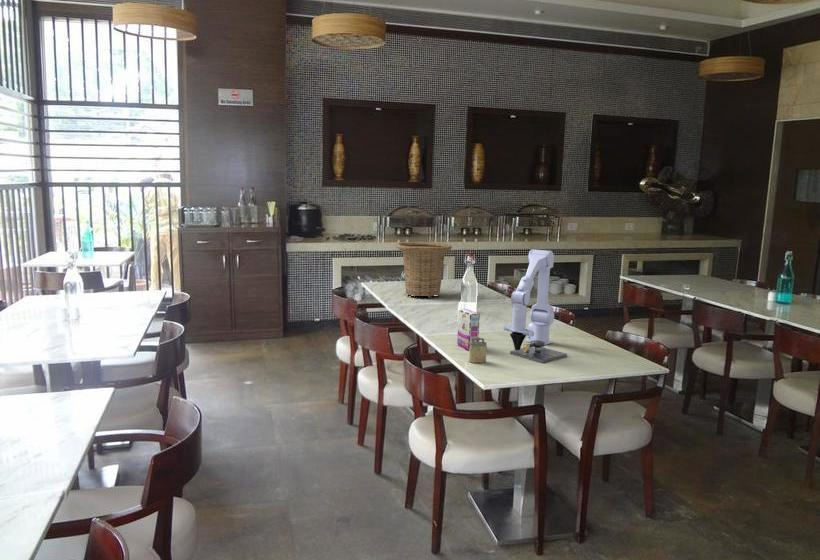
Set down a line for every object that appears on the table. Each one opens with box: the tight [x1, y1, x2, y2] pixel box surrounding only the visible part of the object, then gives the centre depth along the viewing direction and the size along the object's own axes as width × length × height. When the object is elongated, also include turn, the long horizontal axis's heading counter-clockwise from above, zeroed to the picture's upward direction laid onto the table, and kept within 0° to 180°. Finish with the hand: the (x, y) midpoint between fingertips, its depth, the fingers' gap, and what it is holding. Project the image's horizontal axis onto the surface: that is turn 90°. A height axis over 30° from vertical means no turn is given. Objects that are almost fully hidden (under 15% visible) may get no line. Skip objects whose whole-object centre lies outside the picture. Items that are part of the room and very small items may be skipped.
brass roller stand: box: [523, 340, 546, 353], centre depth 264 cm, size 12×6×4 cm, turn 131°
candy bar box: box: [456, 308, 481, 352], centre depth 272 cm, size 11×5×16 cm, turn 23°
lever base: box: [509, 346, 568, 364], centre depth 264 cm, size 17×17×4 cm
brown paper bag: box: [468, 337, 488, 364], centre depth 251 cm, size 7×4×10 cm, turn 98°
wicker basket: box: [396, 241, 453, 297], centre depth 394 cm, size 35×35×33 cm
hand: (517, 349), depth 264 cm, fingers closed
